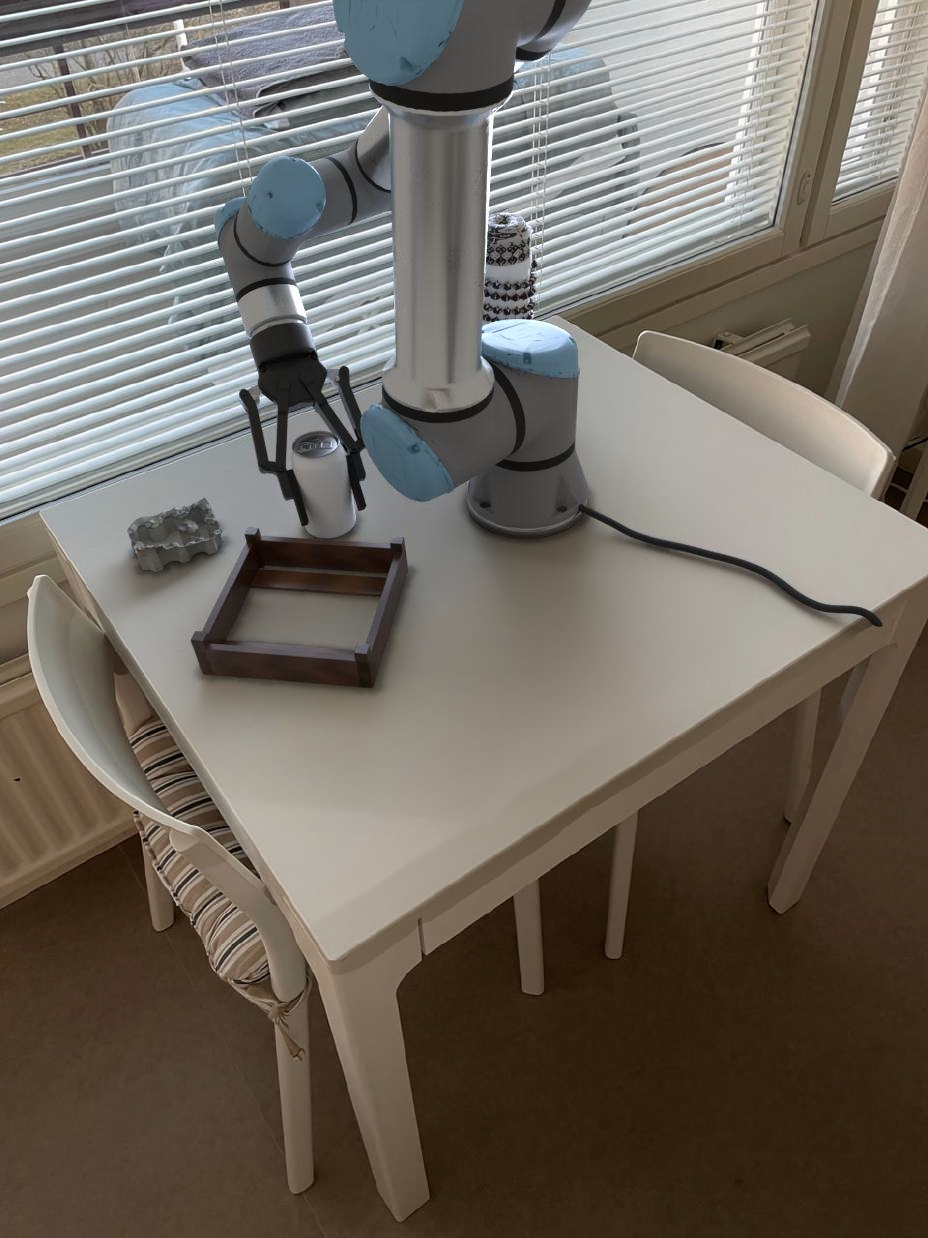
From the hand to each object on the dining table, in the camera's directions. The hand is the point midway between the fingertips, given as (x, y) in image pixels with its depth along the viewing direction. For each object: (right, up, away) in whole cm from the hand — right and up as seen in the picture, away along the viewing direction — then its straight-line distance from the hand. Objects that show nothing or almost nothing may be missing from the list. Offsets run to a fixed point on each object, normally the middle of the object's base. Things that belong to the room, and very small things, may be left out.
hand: (334, 515), depth 112 cm
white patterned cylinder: (+27, +31, +34) cm, 53 cm away
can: (-1, -1, +5) cm, 5 cm away
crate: (-2, -12, -7) cm, 15 cm away
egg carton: (-20, -4, +4) cm, 20 cm away
